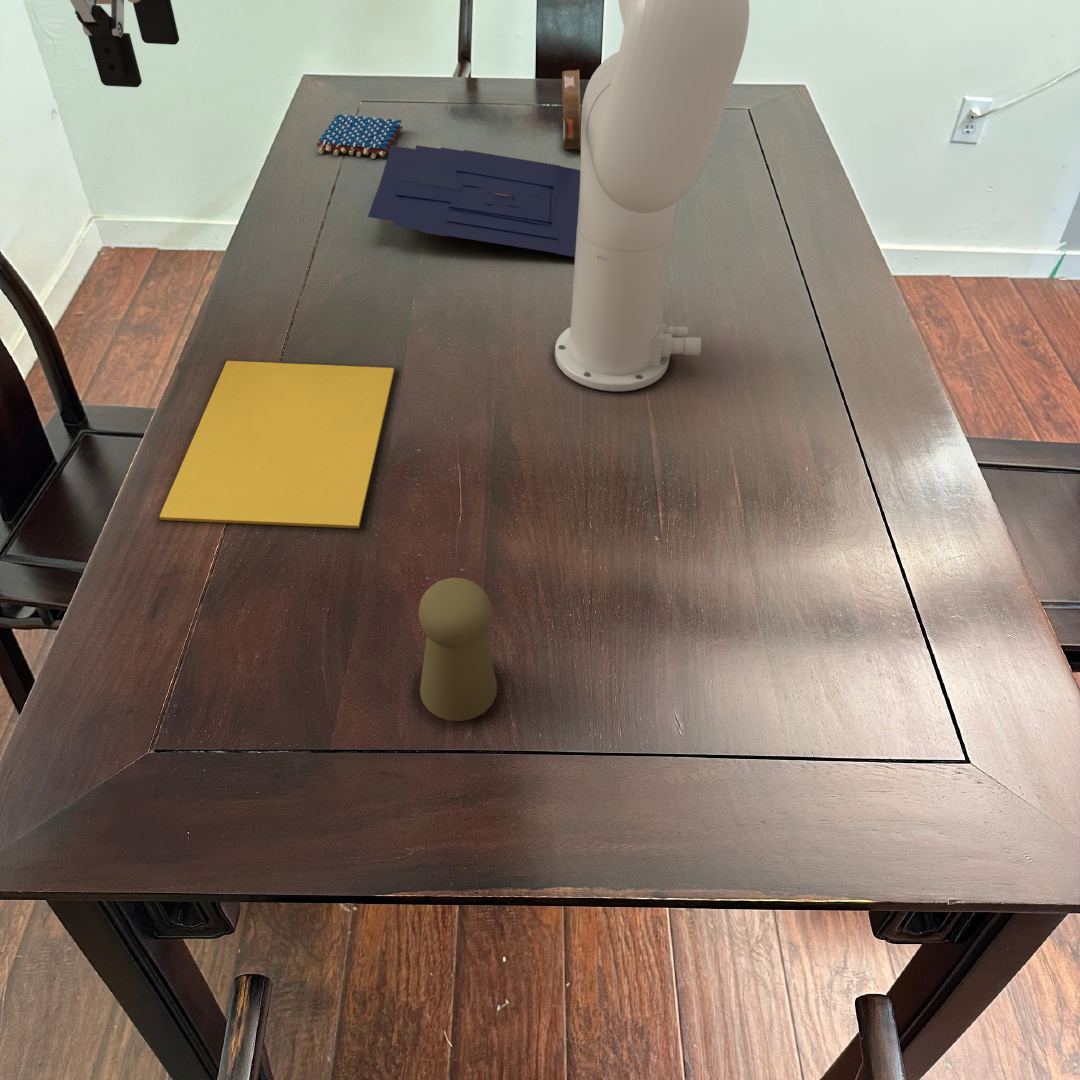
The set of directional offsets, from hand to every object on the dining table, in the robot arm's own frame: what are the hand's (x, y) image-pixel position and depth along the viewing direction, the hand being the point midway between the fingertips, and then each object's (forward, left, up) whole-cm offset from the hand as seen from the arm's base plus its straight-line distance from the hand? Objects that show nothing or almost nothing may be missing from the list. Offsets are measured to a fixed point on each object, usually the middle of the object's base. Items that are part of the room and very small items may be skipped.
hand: (142, 63), depth 83 cm
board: (-10, +13, -30) cm, 35 cm away
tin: (-38, -60, -31) cm, 77 cm away
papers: (-28, -35, -31) cm, 54 cm away
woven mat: (-7, -55, -31) cm, 63 cm away
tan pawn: (-30, +42, -31) cm, 60 cm away
